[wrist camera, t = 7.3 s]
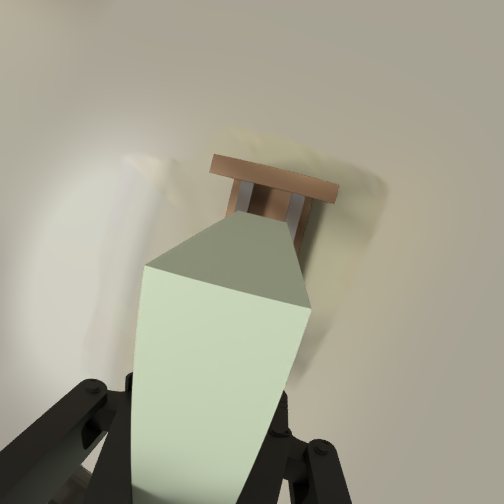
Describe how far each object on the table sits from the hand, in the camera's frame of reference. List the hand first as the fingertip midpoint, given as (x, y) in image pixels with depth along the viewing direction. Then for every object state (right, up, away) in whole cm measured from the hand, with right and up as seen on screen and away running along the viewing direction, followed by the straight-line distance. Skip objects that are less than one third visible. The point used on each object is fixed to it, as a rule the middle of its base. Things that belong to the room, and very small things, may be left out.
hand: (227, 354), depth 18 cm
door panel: (0, +1, +3) cm, 3 cm away
